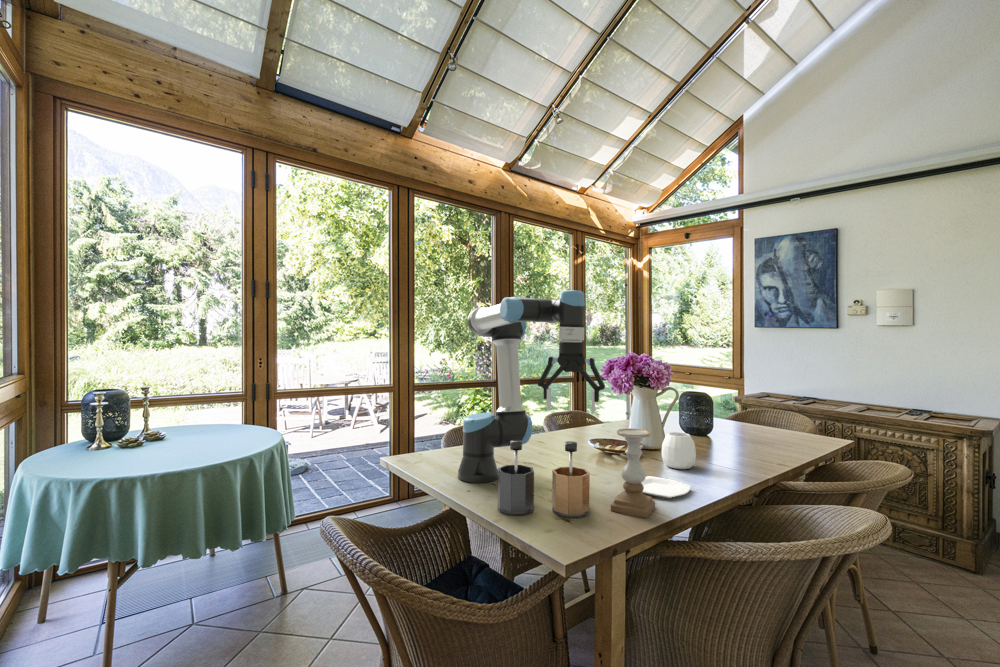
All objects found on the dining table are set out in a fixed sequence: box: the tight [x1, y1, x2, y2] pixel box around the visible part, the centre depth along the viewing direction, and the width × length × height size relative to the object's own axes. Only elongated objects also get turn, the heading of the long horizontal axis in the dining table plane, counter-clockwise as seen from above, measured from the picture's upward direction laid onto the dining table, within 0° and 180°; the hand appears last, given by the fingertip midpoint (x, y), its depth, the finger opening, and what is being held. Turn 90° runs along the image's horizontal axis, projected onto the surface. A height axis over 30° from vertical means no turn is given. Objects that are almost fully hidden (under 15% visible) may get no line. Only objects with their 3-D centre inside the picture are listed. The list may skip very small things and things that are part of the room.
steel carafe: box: [497, 464, 535, 517], centre depth 143 cm, size 11×14×12 cm
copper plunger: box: [564, 440, 578, 476], centre depth 140 cm, size 8×8×19 cm
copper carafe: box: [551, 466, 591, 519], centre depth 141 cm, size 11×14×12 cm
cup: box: [661, 431, 697, 470], centre depth 190 cm, size 13×13×14 cm
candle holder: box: [610, 428, 656, 519], centre depth 143 cm, size 11×11×24 cm
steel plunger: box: [509, 440, 523, 474], centre depth 142 cm, size 8×8×19 cm
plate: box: [641, 475, 692, 499], centre depth 161 cm, size 19×19×2 cm
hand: (570, 411), depth 141 cm, fingers open, 13 cm apart
